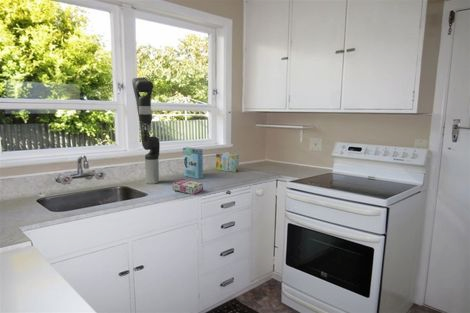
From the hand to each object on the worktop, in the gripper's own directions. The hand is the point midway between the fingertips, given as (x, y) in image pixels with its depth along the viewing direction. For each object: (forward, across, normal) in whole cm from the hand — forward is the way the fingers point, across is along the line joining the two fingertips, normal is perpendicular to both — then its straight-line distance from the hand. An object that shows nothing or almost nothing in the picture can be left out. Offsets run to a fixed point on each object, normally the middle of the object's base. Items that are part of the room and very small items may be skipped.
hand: (146, 141), depth 192 cm
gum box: (+32, -39, +34) cm, 61 cm away
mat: (+32, -2, +25) cm, 41 cm away
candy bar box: (+28, 0, +20) cm, 35 cm away
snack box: (+32, -60, +67) cm, 96 cm away
